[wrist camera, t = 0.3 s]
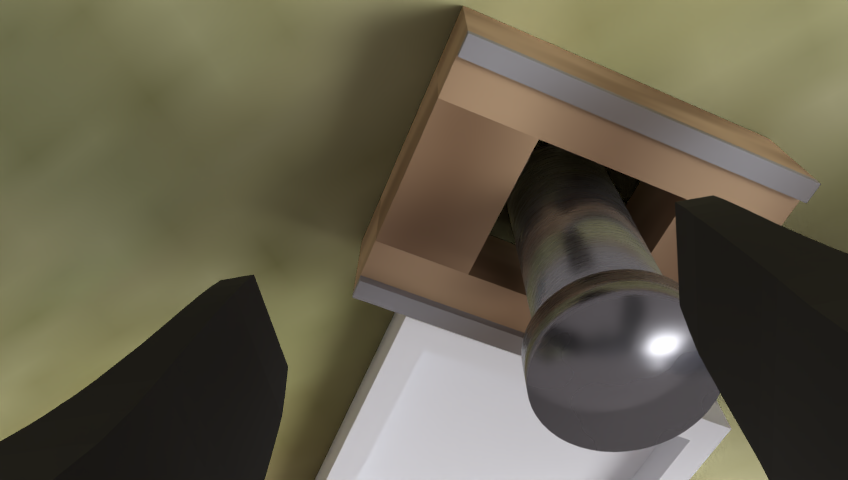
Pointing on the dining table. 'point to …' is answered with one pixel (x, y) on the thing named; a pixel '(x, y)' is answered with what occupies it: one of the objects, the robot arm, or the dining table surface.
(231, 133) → the dining table surface
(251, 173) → the dining table surface
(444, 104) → the hitch block
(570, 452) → the tray
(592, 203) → the pin
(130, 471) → the robot arm
